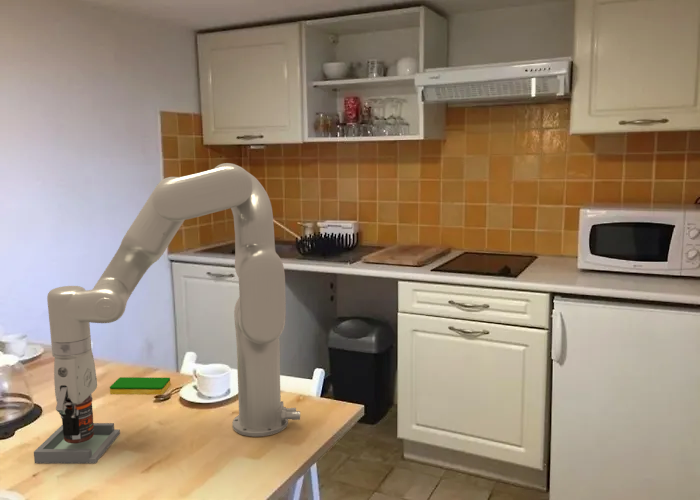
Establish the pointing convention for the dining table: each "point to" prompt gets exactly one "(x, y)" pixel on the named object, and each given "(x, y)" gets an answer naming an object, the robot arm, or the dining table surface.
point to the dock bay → (76, 446)
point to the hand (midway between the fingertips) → (78, 426)
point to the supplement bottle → (83, 422)
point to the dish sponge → (139, 385)
